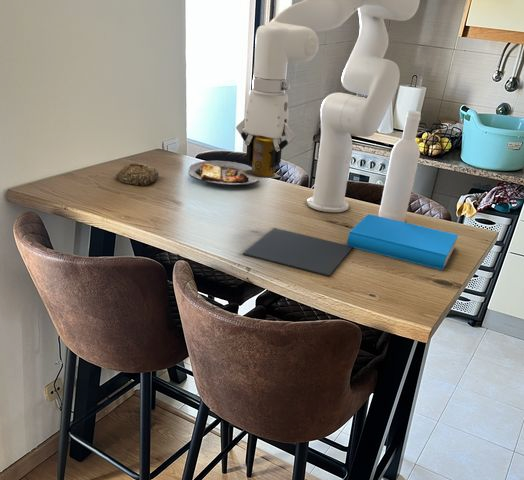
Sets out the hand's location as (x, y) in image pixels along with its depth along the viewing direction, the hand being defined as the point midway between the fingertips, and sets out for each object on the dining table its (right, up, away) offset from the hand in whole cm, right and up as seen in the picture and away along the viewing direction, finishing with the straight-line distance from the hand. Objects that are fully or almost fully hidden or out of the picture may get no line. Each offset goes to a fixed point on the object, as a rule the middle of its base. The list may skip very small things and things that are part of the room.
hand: (263, 162), depth 142 cm
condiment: (-1, -3, +2) cm, 3 cm away
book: (+36, -21, +6) cm, 42 cm away
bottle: (+38, -10, +23) cm, 45 cm away
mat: (+9, -23, -2) cm, 25 cm away
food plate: (-13, +9, +44) cm, 47 cm away
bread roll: (-40, +6, +36) cm, 54 cm away
